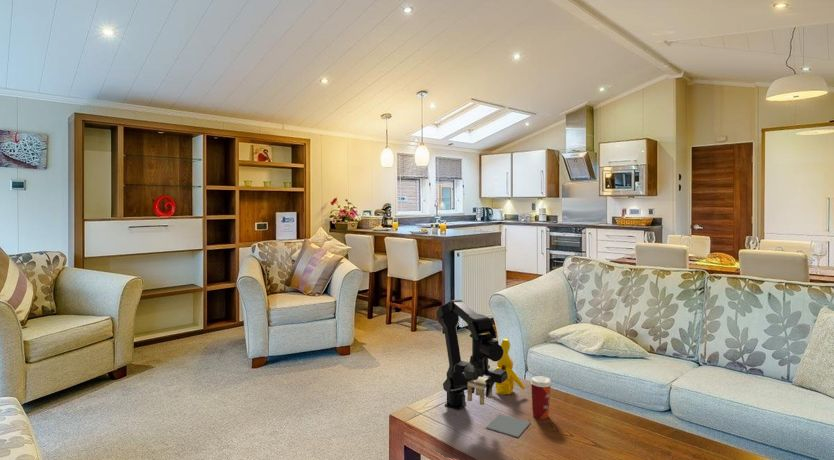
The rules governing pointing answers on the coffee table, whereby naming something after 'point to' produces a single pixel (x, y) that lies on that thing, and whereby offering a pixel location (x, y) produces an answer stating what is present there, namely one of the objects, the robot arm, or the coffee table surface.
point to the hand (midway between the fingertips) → (480, 395)
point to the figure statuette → (507, 366)
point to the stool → (478, 389)
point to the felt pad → (508, 425)
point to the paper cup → (540, 396)
